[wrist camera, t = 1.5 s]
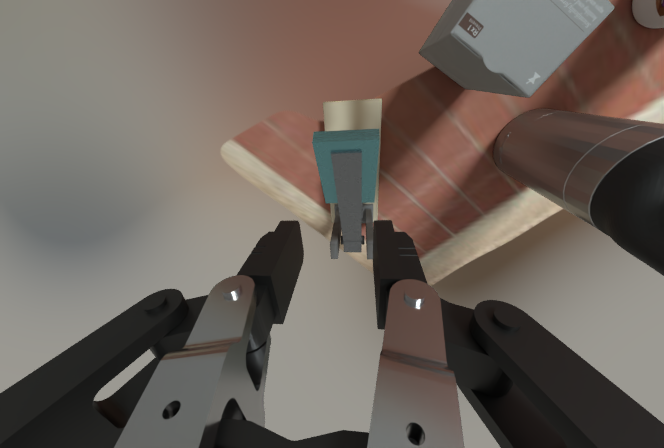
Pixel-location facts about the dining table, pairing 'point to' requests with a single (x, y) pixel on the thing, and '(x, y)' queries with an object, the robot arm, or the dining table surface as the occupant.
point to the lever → (348, 176)
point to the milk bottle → (649, 13)
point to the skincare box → (510, 41)
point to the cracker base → (369, 117)
